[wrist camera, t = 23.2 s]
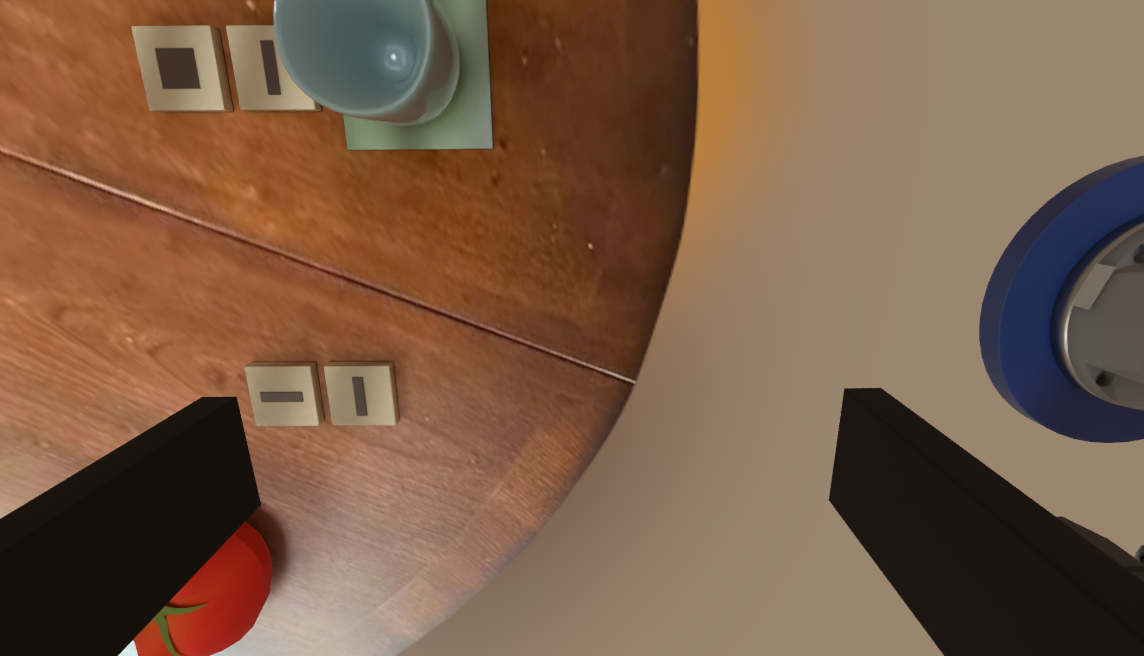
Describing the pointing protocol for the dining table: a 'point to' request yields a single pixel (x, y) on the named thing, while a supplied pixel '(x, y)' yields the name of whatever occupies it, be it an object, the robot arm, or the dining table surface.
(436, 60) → the cup
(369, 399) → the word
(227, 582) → the tomato
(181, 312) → the dining table surface
